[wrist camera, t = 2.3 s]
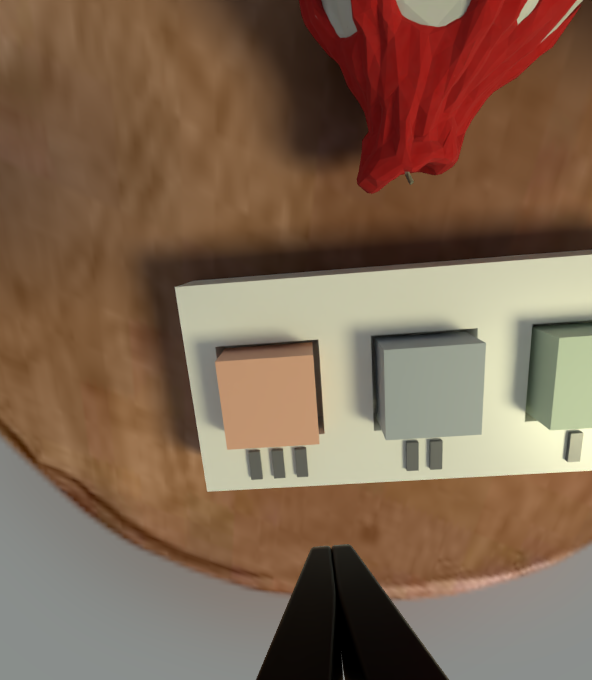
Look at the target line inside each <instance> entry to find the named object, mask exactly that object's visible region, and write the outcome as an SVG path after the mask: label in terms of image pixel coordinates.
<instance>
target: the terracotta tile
mask: <svg viewBox="0 0 592 680" xmlns="http://www.w3.org/2000/svg"><path fill="white" fill-rule="evenodd" d="M215 366H216V373H217V381H218V388H219V395H220V402H221V409H222V416H223V424H224V431H225V438H226V445H227V450H231V449H248V448H265V447H282V446H298V445H315V444H320V443H319V429H318V415H317V401H316V387H315V373H314V359H313V345H312V342H308V343H294V344H280V345H265V346H251V347H237V348H225V349H224V350H223V352H222V353H221V354H220V356H219V357H218V358H217V360H216V361H215Z"/></svg>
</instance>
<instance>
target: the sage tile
mask: <svg viewBox="0 0 592 680" xmlns="http://www.w3.org/2000/svg"><path fill="white" fill-rule="evenodd" d="M525 412H527V413H528V414H529V415H531V416H532V417H533V418H535V419H536V420H537V421H538V422H540V423H541V424H542V425H544V426H545V427H546V428H548V429H549V430H550V431H551V430H568V429H585V428H592V322H590V323H576V324H562V325H548V326H534V327H532V335H531V348H530V360H529V373H528V385H527V398H526V411H525Z"/></svg>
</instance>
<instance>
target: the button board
mask: <svg viewBox="0 0 592 680" xmlns="http://www.w3.org/2000/svg"><path fill="white" fill-rule="evenodd" d="M175 292H176V298H177V305H178V311H179V317H180V323H181V330H182V336H183V342H184V348H185V355H186V361H187V367H188V373H189V380H190V386H191V392H192V399H193V405H194V411H195V417H196V424H197V430H198V436H199V442H200V449H201V455H202V461H203V468H204V474H205V480H206V486H207V492H208V491H226V490H244V489H263V488H281V487H299V486H317V485H336V484H354V483H372V482H390V481H409V480H427V479H445V478H463V477H482V476H500V475H518V474H536V473H555V472H573V471H591V470H592V428H585V429H568V430H551V431H550V430H549V429H548V428H546V427H545V426H544V425H542V424H541V423H540V422H538V421H537V420H536V419H535V418H533V417H532V416H531V415H529V414H528V413H527V412H525V411H526V398H527V385H528V373H529V360H530V348H531V335H532V327H534V326H548V325H562V324H576V323H590V322H592V249H591V250H578V251H565V252H553V253H540V254H527V255H514V256H502V257H489V258H476V259H464V260H451V261H438V262H425V263H413V264H400V265H387V266H375V267H362V268H349V269H336V270H324V271H311V272H298V273H286V274H273V275H260V276H248V277H235V278H222V279H209V280H197V281H191V282H188V283H185V284H182V285H179V286H177V287H175ZM463 331H465V332H467V333H469V334H471V335H473V336H474V337H476V338H478V339H480V340H482V341H483V342H485V343H486V354H485V375H484V395H483V416H482V435H467V436H450V437H433V438H416V439H400V440H385V437H384V435H383V432H382V430H381V427H380V425H379V422H378V420H377V399H376V363H375V338H378V337H393V336H407V335H421V334H435V333H449V332H463ZM308 342H312V345H313V359H314V373H315V387H316V401H317V415H318V429H319V443H320V444H315V445H298V446H282V447H265V448H248V449H231V450H227V445H226V438H225V431H224V424H223V416H222V409H221V402H220V395H219V388H218V381H217V373H216V366H215V361H216V360H217V358H218V357H219V356H220V354H221V353H222V352H223V350H224V349H225V348H237V347H251V346H265V345H280V344H294V343H308Z"/></svg>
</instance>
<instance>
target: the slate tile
mask: <svg viewBox="0 0 592 680" xmlns="http://www.w3.org/2000/svg"><path fill="white" fill-rule="evenodd" d="M485 354H486V343H485V342H483V341H482V340H480V339H478V338H476V337H474V336H473V335H471V334H469V333H467V332H465V331H463V332H449V333H435V334H421V335H407V336H393V337H378V338H375V363H376V399H377V420H378V422H379V425H380V427H381V430H382V432H383V435H384V437H385V440H400V439H416V438H433V437H450V436H467V435H482V416H483V395H484V375H485Z"/></svg>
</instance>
